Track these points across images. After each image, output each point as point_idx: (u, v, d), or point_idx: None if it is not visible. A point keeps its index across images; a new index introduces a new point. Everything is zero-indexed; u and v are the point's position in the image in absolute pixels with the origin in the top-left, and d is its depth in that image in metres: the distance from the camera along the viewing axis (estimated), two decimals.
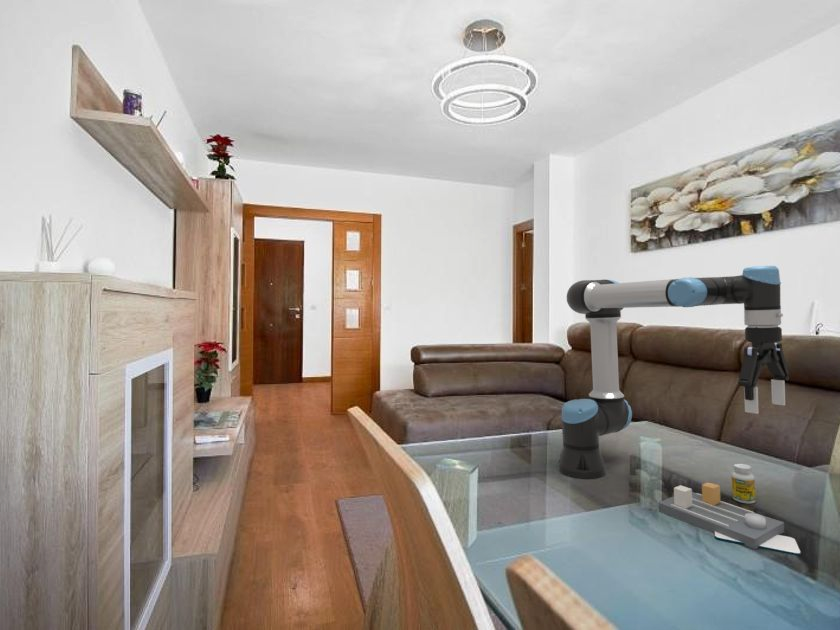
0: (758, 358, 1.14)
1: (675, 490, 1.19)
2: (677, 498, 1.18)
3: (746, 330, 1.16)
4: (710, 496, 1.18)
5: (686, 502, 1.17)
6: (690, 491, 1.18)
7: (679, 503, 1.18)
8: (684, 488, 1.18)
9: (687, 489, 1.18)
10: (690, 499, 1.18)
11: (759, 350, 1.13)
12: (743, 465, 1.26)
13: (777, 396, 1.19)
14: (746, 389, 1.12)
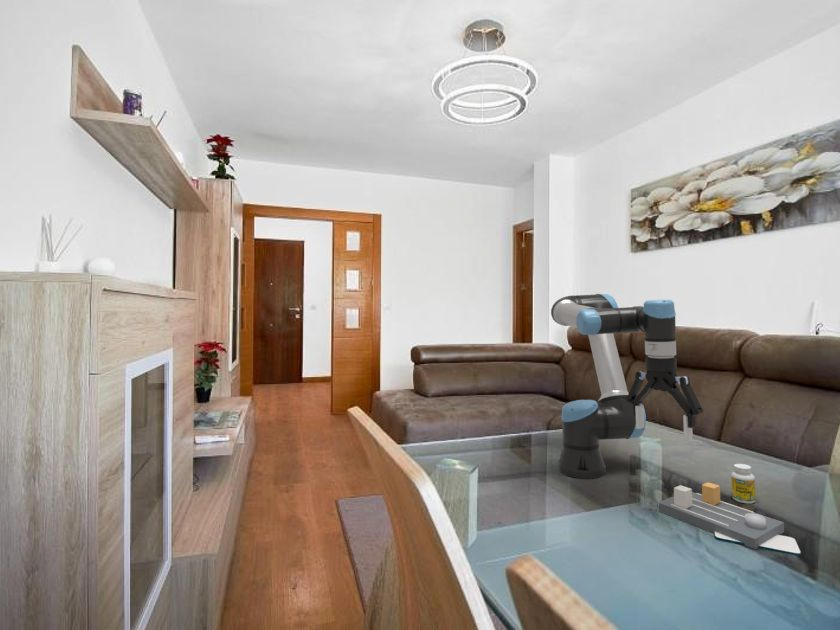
0: None
1: (675, 490, 1.19)
2: (677, 498, 1.18)
3: None
4: (710, 496, 1.18)
5: (686, 502, 1.17)
6: (690, 491, 1.18)
7: (679, 503, 1.18)
8: (684, 488, 1.18)
9: (687, 489, 1.18)
10: (690, 499, 1.18)
11: (645, 376, 1.26)
12: (743, 465, 1.26)
13: None
14: None
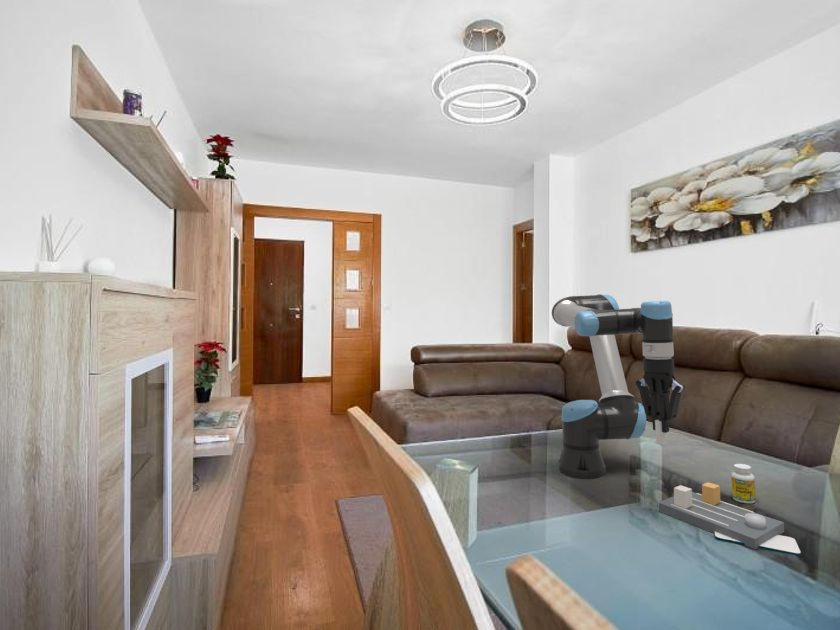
0: None
1: (675, 490, 1.19)
2: (677, 498, 1.18)
3: None
4: (710, 496, 1.18)
5: (686, 502, 1.17)
6: (690, 491, 1.18)
7: (679, 503, 1.18)
8: (684, 488, 1.18)
9: (687, 489, 1.18)
10: (690, 499, 1.18)
11: (643, 377, 1.26)
12: (743, 465, 1.26)
13: None
14: None
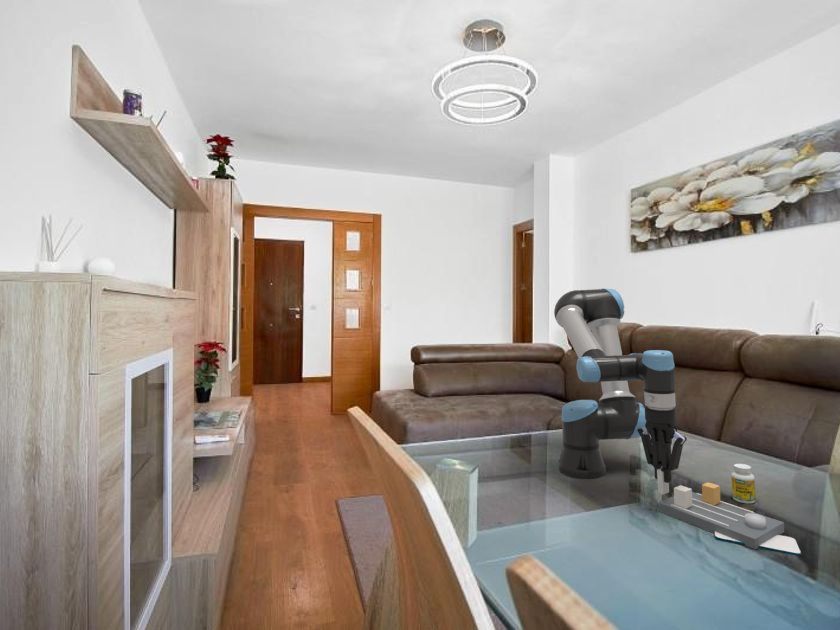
0: None
1: (675, 490, 1.19)
2: (677, 498, 1.18)
3: None
4: (710, 496, 1.18)
5: (686, 502, 1.17)
6: (690, 491, 1.18)
7: (679, 503, 1.18)
8: (684, 488, 1.18)
9: (687, 489, 1.18)
10: (690, 499, 1.18)
11: (645, 425, 1.26)
12: (743, 465, 1.26)
13: None
14: None
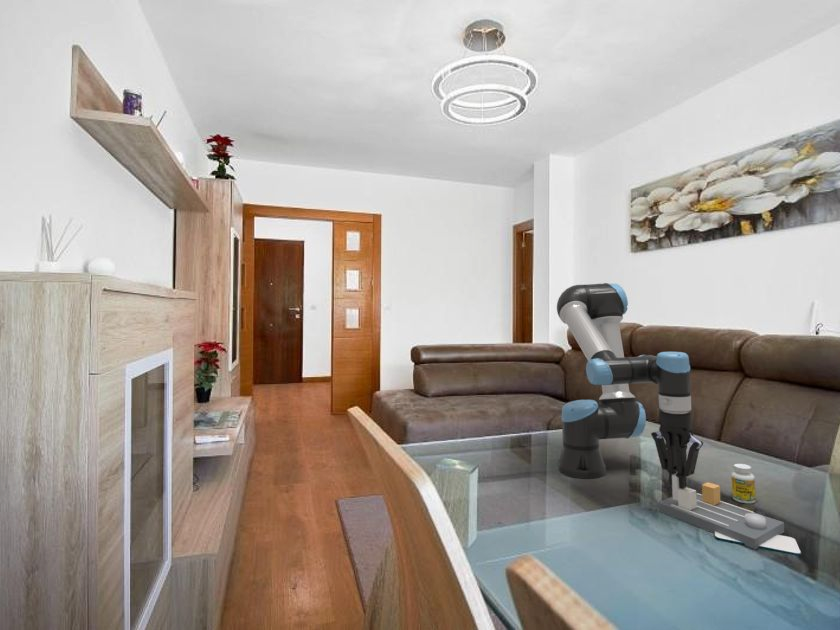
0: None
1: (679, 491, 1.18)
2: (681, 499, 1.17)
3: None
4: (710, 496, 1.18)
5: (690, 504, 1.16)
6: (694, 492, 1.17)
7: (683, 505, 1.17)
8: (688, 489, 1.17)
9: (691, 490, 1.17)
10: (694, 500, 1.17)
11: (659, 429, 1.22)
12: (743, 465, 1.26)
13: None
14: None
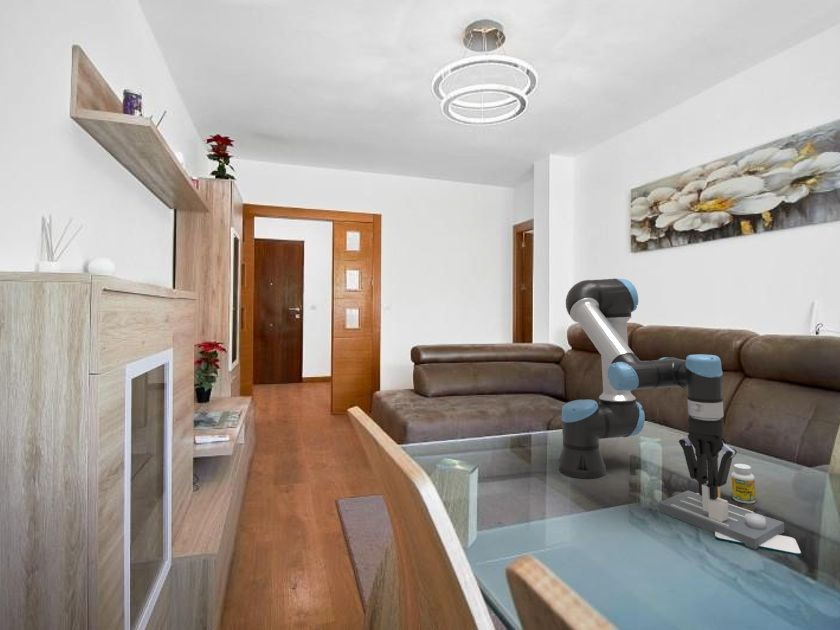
0: None
1: (710, 502, 1.11)
2: (712, 510, 1.11)
3: None
4: None
5: (722, 515, 1.09)
6: (726, 503, 1.10)
7: (714, 516, 1.10)
8: (719, 500, 1.11)
9: (722, 501, 1.10)
10: (726, 512, 1.10)
11: None
12: (743, 465, 1.26)
13: None
14: None
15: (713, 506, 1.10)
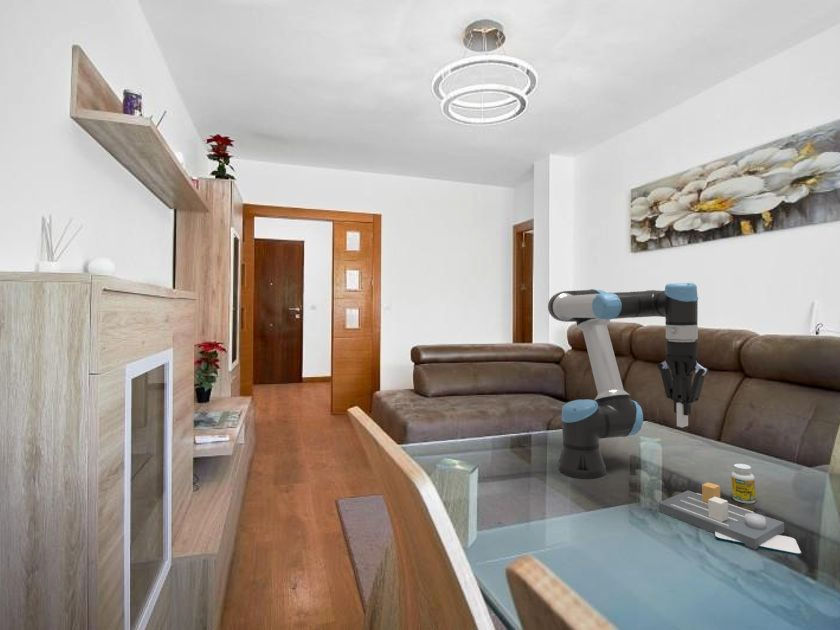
0: None
1: (710, 502, 1.11)
2: (712, 510, 1.11)
3: None
4: (710, 496, 1.18)
5: (722, 515, 1.09)
6: (726, 503, 1.10)
7: (714, 516, 1.10)
8: (719, 500, 1.11)
9: (722, 501, 1.10)
10: (726, 512, 1.10)
11: (665, 359, 1.25)
12: (743, 465, 1.26)
13: None
14: None
15: (713, 506, 1.10)
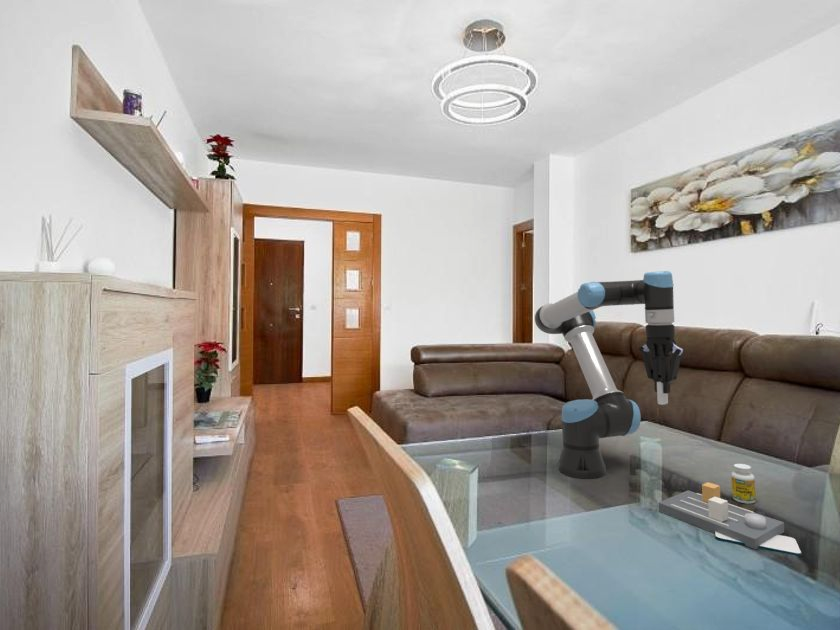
0: None
1: (710, 502, 1.11)
2: (712, 510, 1.11)
3: None
4: (710, 496, 1.18)
5: (722, 515, 1.09)
6: (726, 503, 1.10)
7: (714, 516, 1.10)
8: (719, 500, 1.11)
9: (722, 501, 1.10)
10: (726, 512, 1.10)
11: None
12: (743, 465, 1.26)
13: None
14: None
15: (713, 506, 1.10)
